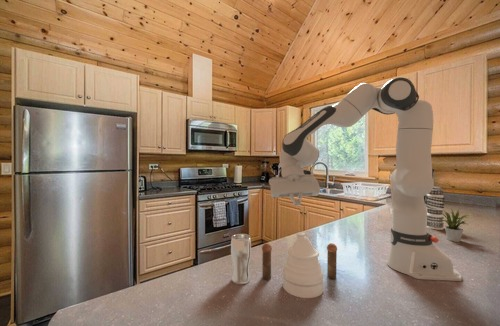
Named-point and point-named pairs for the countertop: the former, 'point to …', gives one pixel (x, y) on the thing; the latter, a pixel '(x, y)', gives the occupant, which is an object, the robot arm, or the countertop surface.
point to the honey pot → (303, 269)
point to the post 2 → (331, 261)
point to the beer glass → (241, 258)
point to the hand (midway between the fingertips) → (297, 204)
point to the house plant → (454, 226)
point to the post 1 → (266, 262)
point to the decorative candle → (435, 208)
